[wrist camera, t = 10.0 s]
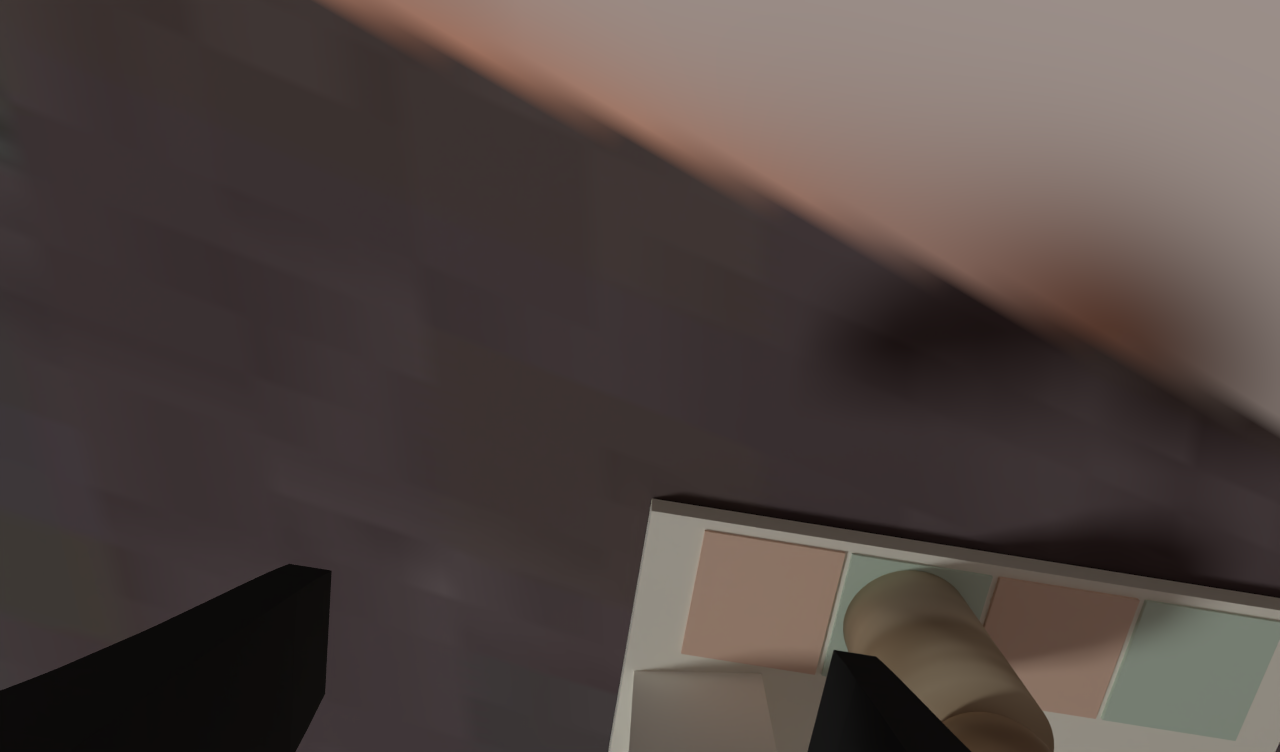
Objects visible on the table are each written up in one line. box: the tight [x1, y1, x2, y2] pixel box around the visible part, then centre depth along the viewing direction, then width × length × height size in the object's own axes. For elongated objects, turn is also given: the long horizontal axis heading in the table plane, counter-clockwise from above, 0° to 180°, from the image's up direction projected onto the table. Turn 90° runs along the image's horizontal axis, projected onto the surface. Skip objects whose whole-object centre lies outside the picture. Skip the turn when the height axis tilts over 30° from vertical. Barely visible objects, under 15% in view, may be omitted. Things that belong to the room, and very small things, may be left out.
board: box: [608, 499, 1280, 752], centre depth 21 cm, size 8×19×1 cm, turn 81°
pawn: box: [843, 570, 1054, 752], centre depth 17 cm, size 3×3×7 cm
